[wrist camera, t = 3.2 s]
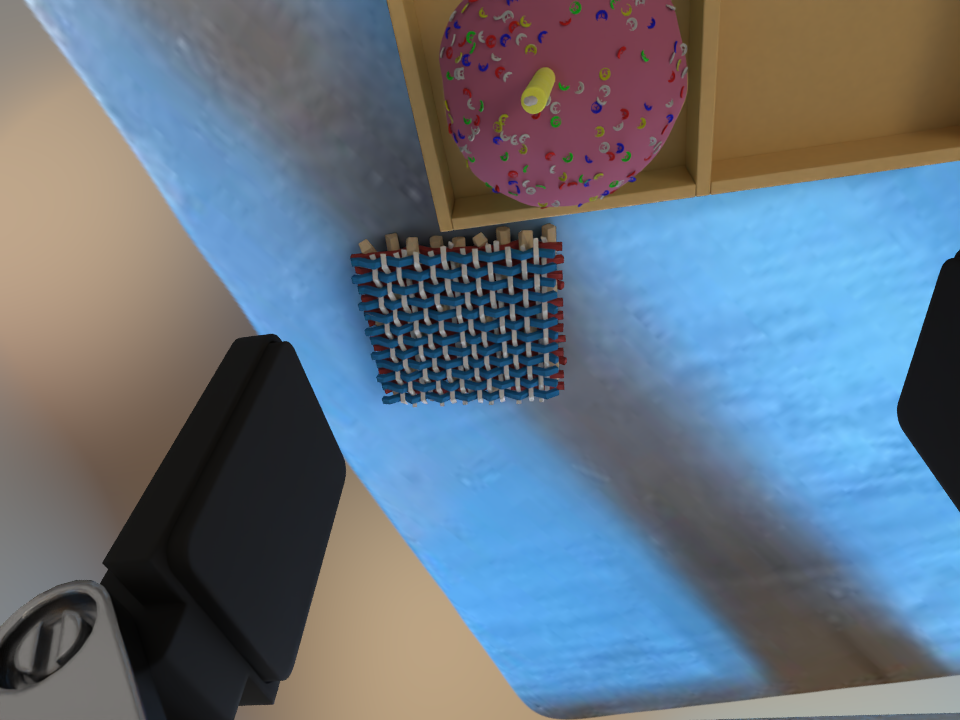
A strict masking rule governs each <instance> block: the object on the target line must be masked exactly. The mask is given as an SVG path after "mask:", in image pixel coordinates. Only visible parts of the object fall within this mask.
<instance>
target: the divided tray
mask: <svg viewBox="0 0 960 720" xmlns="http://www.w3.org/2000/svg"><path fill="white" fill-rule="evenodd" d="M462 1H463V0H387V4H388V8H389V13H390V17H391V21H392V26H393V30H394V34H395V39H396V43H397V47H398V51H399V56H400V60H401V64H402V69H403V73H404V77H405V81H406V86H407V90H408V94H409V99H410V103H411V107H412V112H413V116H414V120H415V124H416V129H417V133H418V137H419V142H420V146H421V150H422V155H423V159H424V163H425V167H426V172H427V176H428V180H429V185H430V189H431V193H432V197H433V202H434V206H435V210H436V215H437V219H438V223H439V228H440V231H441V232H445V231H452V230H453V229H454V230H459V229H466V228H474V227H481V226H488V225H495V224H503V223H510V222H517V221H524V220H532V219H539V218H546V217H553V216H561V215H568V214H575V213H582V212H590V211H597V210H604V209H611V208H619V207H626V206H633V205H640V204H647V203H655V202H662V201H669V200H676V199H684V198H691V197H695V196H697V197H698V196H706V195H710V194H711V195H714V194H721V193H728V192H735V191H742V190H750V189H757V188H764V187H771V186H779V185H786V184H793V183H800V182H808V181H815V180H822V179H829V178H837V177H844V176H851V175H858V174H866V173H873V172H880V171H887V170H895V169H902V168H909V167H916V166H924V165H931V164H938V163H945V162H952V161H960V0H671V1H672V4H673V7H675V13H676V17H677V21H678V26H679V30H680V35H681V39H682V43H684V44H686V45H687V52H686V54H685V57H686V65H687V67H688V70H687V72H688V90H687V95H686V99H685V102H684V105H683V107H682V109H681V112H680V114H679V116H678V118H677V119H676V121H675V123H674V125H673V128H672V130H671V132H670V134H669V136H668V138H667V140H666V141H665V143H664V145H663V146H662V148H661V149H660V151H659V152H658V153H657V155H656V156H655V157H654V158H653V159H652V161H651V162H650V163H649V164H648V165H647V166H646V167H644V168H643V169H642V170H641V171H640V172H639V173H638V174H637V175H635V176H634V177H635V178H636V181H634V182H627V183H626V184H624V185H623V186H621V187H619V188H618V189H617V190H616V191H615V192H614V193H612V194H610V193H609V194H608V195H606V196H605V197H604V198H603V199H600V198H598V199H596V200H595V201H592V202H588V203H584V204H583V205H582V206H580V207H578V205H574V206H559V207H547V208H544V209H540V208H541V207H536V206H530V205H527V204H524V203H521V202H519V201H517V200H515V199H513V198H511V197H508V196H506V195H504V194H502V193H494V192H493V191H492V188H490V187H487V186H486V185H485V182H483V181H482V180H480V179H479V178H478V177H477V176H476V175H475V174H474V173H473V172H472V171H471V169H470V167H469V165H468V168H467V165H466V159H465V157H464V156H463V154H462V152H460V149H459V147H458V146H457V144H456V142H455V141H454V139H453V137H452V136H451V134H450V133H449V131H448V123H447V117H446V112H445V106H444V99H443V90H442V74H441V69H440V63H439V51H440V45H441V41H442V38H443V35H444V32H445V29H446V26H447V24H448V22H449V18H450V16H451V14H452V13H453V12H454V10H455V9H456V8H457V6H458V5H459V4H460V3H461V2H462ZM683 48H684V46H683ZM684 49H685V48H684ZM632 180H633V178H632ZM495 191H496V190H495Z"/></svg>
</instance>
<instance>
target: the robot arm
mask: <svg viewBox="0 0 960 720" xmlns="http://www.w3.org/2000/svg"><path fill="white" fill-rule="evenodd" d="M897 416H898V421H899V424H900V426H901V428H902V430H903V432H904V433H905V435H906V436H907V437H908V439H909V440H910V442H911V443H912V445H913V446H914V447H915V449H916V450H917V452H918V453H919V455H920V456H921V457H922V459H923V460H924V462H925V463H926V465H927V466H928V467H929V469H930V470H931V472H932V473H933V475H934V476H935V477H936V479H937V480H938V482H939V483H940V485H941V486H942V487H943V489H944V490H945V492H946V493H947V495H948V496H949V497H950V499H951V500H952V502H953V503H954V505H955V506H956V507H957V509H958V510H959V512H960V250H959V251H958V252H957V253H956V255H955V257H954V258H951V259H948V260H947V261H946V262H945V263H944V264H943V266H942V268H941V270H940V273H939V276H938V279H937V282H936V286H935V289H934V292H933V295H932V298H931V301H930V304H929V308H928V311H927V314H926V317H925V320H924V323H923V326H922V330H921V333H920V336H919V339H918V342H917V345H916V348H915V351H914V355H913V358H912V361H911V364H910V367H909V370H908V373H907V377H906V380H905V383H904V386H903V389H902V392H901V395H900V398H899V402H898V406H897ZM345 477H346V466H345V460H344V458H343V455H342V453H341V451H340V448H339V446H338V444H337V442H336V440H335V437H334V435H333V433H332V431H331V429H330V426H329V424H328V422H327V420H326V418H325V415H324V413H323V411H322V409H321V407H320V404H319V402H318V400H317V398H316V396H315V393H314V391H313V389H312V387H311V385H310V382H309V380H308V378H307V376H306V374H305V371H304V369H303V367H302V365H301V363H300V360H299V358H298V356H297V354H296V352H295V349H294V348H293V346H292V345H291V344H290V343H289V342H287V341H284V342H282V341H281V339H280V338H279V337H278V336H277V335H275V334H266V335H258V336H251V337H243V338H238V339H236V340H235V341H234V342H233V344H232V345H231V347H230V349H229V350H228V352H227V354H226V355H225V357H224V359H223V361H222V362H221V364H220V365H219V367H218V369H217V371H216V372H215V374H214V376H213V377H212V379H211V381H210V382H209V384H208V386H207V387H206V389H205V391H204V393H203V394H202V396H201V398H200V399H199V401H198V403H197V404H196V406H195V408H194V409H193V411H192V413H191V414H190V416H189V418H188V419H187V421H186V423H185V425H184V426H183V428H182V429H181V431H180V433H179V435H178V436H177V438H176V440H175V441H174V443H173V445H172V446H171V448H170V450H169V451H168V453H167V455H166V456H165V458H164V460H163V462H162V463H161V465H160V467H159V468H158V470H157V472H156V473H155V475H154V477H153V479H152V480H151V482H150V483H149V485H148V487H147V488H146V490H145V492H144V493H143V495H142V497H141V499H140V500H139V502H138V504H137V505H136V507H135V509H134V510H133V512H132V514H131V516H130V517H129V519H128V520H127V522H126V524H125V526H124V527H123V529H122V531H121V532H120V534H119V536H118V538H117V539H116V541H115V542H114V544H113V546H112V547H111V549H110V551H109V552H108V554H107V556H106V558H105V559H104V561H103V564H104V565H105V566H106V567H107V568H108V571H107V573H106V574H105V576H104V577H103V579H102V581H101V583H100V584H98V583H96V582H94V581H91V580H75V581H72V582H68V583H64V584H61V585H57V586H55V587H53V588H51V589H49V590H47V591H45V592H43V593H41V594H39V595H37V596H36V597H35V598H33V599H32V600H30V601H29V602H28V603H26V604H25V605H23V606H22V607H20V608H19V609H18V610H17V611H16V612H15V613H14V614H13V615H12V616H11V617H10V618H9V619H8V620H6V621H5V623H3V625H1V626H0V720H234V718H235V714H236V712H237V708H238V706H243V705H244V706H245V705H272V704H274V701H275V697H276V694H277V691H278V687H279V683H280V681H283V680H286V679H287V678H288V677H289V676H290V674H291V672H292V670H293V667H294V664H295V660H296V656H297V653H298V649H299V645H300V642H301V638H302V634H303V631H304V627H305V623H306V620H307V616H308V612H309V609H310V605H311V602H312V598H313V594H314V591H315V587H316V584H317V580H318V576H319V573H320V569H321V565H322V562H323V558H324V554H325V551H326V547H327V543H328V540H329V536H330V532H331V529H332V526H333V522H334V518H335V515H336V511H337V507H338V504H339V500H340V496H341V493H342V489H343V485H344V481H345ZM719 720H960V713H940V714H938V713H937V714H936V713H935V714H896V715H858V716H857V715H856V716H821V717H787V718H753V719H719Z"/></svg>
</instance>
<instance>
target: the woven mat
mask: <svg viewBox="0 0 960 720" xmlns="http://www.w3.org/2000/svg"><path fill="white" fill-rule="evenodd" d="M496 237H497V241H496V240H494V242H493V245H491V244H488V239H487V238H486V237H485V236H484V235H483V234H482V232H480V233H479V234H477V235H476V236H475V237H473V242H474V246H465V237H454V238H453V239H452V243H451V242H450V241H449V243H448V247H446V246H444V245H443V238H442V236H432V237H431V238H429V239H430V246H431V248H430V247H426V246H421V245H418V237H408V238H407V239H406V247H405V248H402V249H400V247H399V241H398V236H397V234H396V233H393V234H388V235H385V238H386V244H387V249H388V251H383V252H377V250H376V249H375V248H374V247H373V246H372V245H371V244H370V242H369V241H368V240H367V239H365V240H364V241H362V242H361V243H359V246H360V248H361V251H362V253H360V254H351V258H350V259H351V264H352V267H353V266H354V267H355V271H356V273H357V274H361V275H353V276H352V277H351V279H352V283H353V284H358V286H357V287H358V292H359V294H365V295H362V296H361V300H362V302H360V303H359V304H358V307H359V310H360V311H364V316H365V320H368V323H369V326H370V327H371V326H374V325H376V326H377V327H374V328H366V329H365V334H366V336H370V340H371V344H372V345H373V347H374V351H380V352H372V353H371V358H372V360H376V364H377V368H379V369H378V371H379V374H378V376H377V377H376V378H377V381H378V382H381V384H382V388H383V390H384V391H385V393H386V394H388V393H390V392H393V395H392V396H384V397H383V398H382V401H383V404H393V403H396V402H399V401H401V403H404V404H407V402H409V403H411V404H413V407H417V402H420V401H422V402H423V403H425V404H427V401H426V399H430V401H436V402H440V406H444V402H445V401H448V400H450V399H451V402H452V404H454V403H456V402H457V401H456V399H459V400H463V405H467V404H468V402H469V401H473V400H475V399H477V398H478V401H479V402H480V403H483V398H484V399H486V400H487V401H489V405H493V404H494V400H495V399H498V398H500V401H501V402H504V401H505V398H504V396H506V397H510V398H513V399H516V400H517V404H521V400H522V399H524V398H526V397H528V396H529V401H533V399H534V396H536V397H539V401H540V402H544V399H549V398H552V397H555V396H557V395H559V390H564V382H558V378H564V372H563V370H559V364H562V365H565V364H566V363H567V358H566V357H563V348H558V342H566V338H565V335H558V332H563V324H562V323H558V320H562V319H563V311H558V307H560V306H563V298H557V289H559V290H562V289H563V288H564V282H563V281H560V280H563V274H562V270H561V271H556V270H557V264H561V263H564V257H563V255H562V254H560V255H556V251H562V242H556V226H554V225H552V224H550V223H549V224H546V225H543V226H542V237H541V236H540V237H541V240H542V242H540V241H538V238H533V231H529V230H522V231H521V232H519V233H518V237H519V239H518V240H515V241H513V242H511V241H510V228H509V227H506V226H501V227H497V229H496ZM511 258H513V259H511ZM387 265H389V266H387ZM451 268H452V270H449V269H451ZM494 280H496V281H494ZM513 286H514V287H513ZM540 291H542V293H540ZM390 299H391V300H390ZM496 300H497V301H496ZM435 309H437V310H438V312H437V311H434V310H435ZM478 320H481V322H479V321H478ZM390 323H391V324H390ZM393 324H394V325H393ZM395 325H396V326H395ZM537 329H539V330H538V331H537ZM522 330H524V332H521V331H522ZM438 335H441V336H442V337H440V336H438ZM477 344H480V345H482V346H484V347H482V346H480V345H477ZM461 345H462V347H463V348H461ZM521 354H522V355H521ZM501 355H503V358H501ZM523 355H525V356H526V357H525V356H523ZM445 360H446V361H445ZM543 364H544V367H545V368H543ZM404 371H406V372H404ZM383 374H384V375H383ZM446 379H448V382H449V383H448V382H446V381H444V380H446ZM487 389H488V392H489V393H488V392H487V391H485V390H487ZM512 390H516V391H512ZM544 390H545V391H544ZM406 392H408V393H406ZM468 392H469V394H467V393H468ZM409 393H410V394H411V395H410V394H409ZM416 394H417V395H416ZM406 401H407V402H406Z"/></svg>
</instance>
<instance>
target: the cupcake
mask: <svg viewBox="0 0 960 720" xmlns="http://www.w3.org/2000/svg"><path fill="white" fill-rule="evenodd" d="M683 46H684V48H685V49H684V48H683ZM686 52H687V45H686V44H684V43H682V39H681V35H680V30H679V26H678V21H677V17H676V13H675V7H673V4H672V1H671V0H463V1H462V2H461V3H460V4H459V5H458V6H457V8H456V9H455V10H454V12H453V13H452V14H451V16H450V18H449V22H448V24H447V26H446V29H445V32H444V35H443V38H442V41H441V45H440V51H439V63H440V69H441V74H442V90H443V99H444V106H445V112H446V117H447V123H448V131H449V133H450V134H451V136H452V137H453V139H454V141H455V142H456V144H457V146H458V147H459V149H460V152H462V154H463V156H464V157H465V159H466V165H467V168H468V165H469V167H470V169H471V171H472V172H473V173H474V174H475V175H476V176H477V177H478V178H479V179H480V180H482V181H483V182H485V185H486V186H487V187H490V188H492V191H493V192H494V193H502V194H504V195H506V196H508V197H511V198H513V199H515V200H517V201H519V202H521V203H524V204H527V205H530V206H536V207H541V208H540V209H544V208H547V207H559V206H574V205H578V207H580V206H582V205H583V204H584V203H588V202H592V201H595V200H596V199H598V198H600V199H603V198H604V197H605V196H606V195H608V194H609V193H610V194H612V193H614V192H615V191H616V190H617V189H618V188H619V187H621V186H623V185H624V184H626V183H627V182H634V181H636V178H635V177H634V176H635V175H637V174H638V173H639V172H640V171H641V170H642V169H643V168H644V167H646V166H647V165H648V164H649V163H650V162H651V161H652V159H653V158H654V157H655V156H656V155H657V153H658V152H659V151H660V149H661V148H662V146H663V145H664V143H665V141H666V140H667V138H668V136H669V134H670V132H671V130H672V128H673V125H674V123H675V121H676V119H677V118H678V116H679V114H680V112H681V109H682V107H683V105H684V102H685V99H686V95H687V90H688V72H687V70H688V67H687V65H686V57H685V54H686ZM632 178H633V180H632ZM495 190H496V191H495Z"/></svg>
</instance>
